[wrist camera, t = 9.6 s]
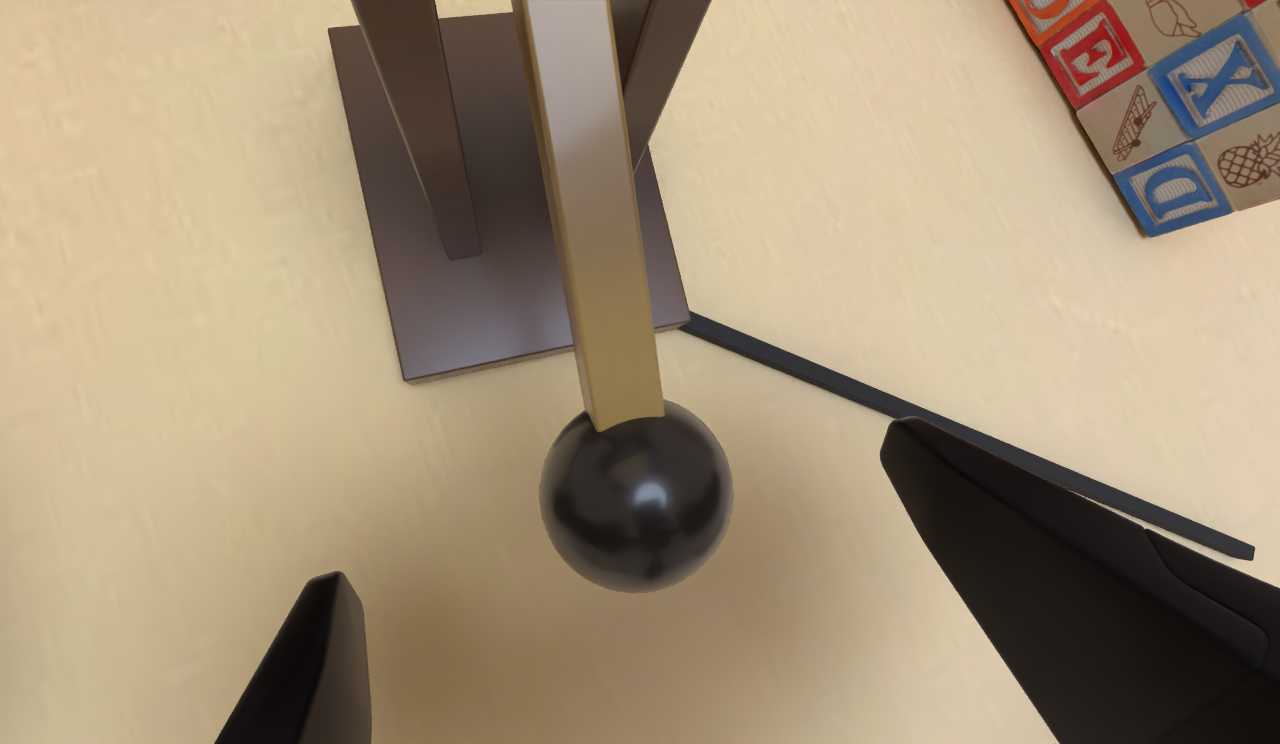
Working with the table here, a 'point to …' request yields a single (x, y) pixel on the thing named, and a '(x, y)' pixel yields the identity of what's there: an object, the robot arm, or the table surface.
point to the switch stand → (487, 177)
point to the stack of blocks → (1172, 98)
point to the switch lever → (611, 330)
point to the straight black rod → (962, 434)
